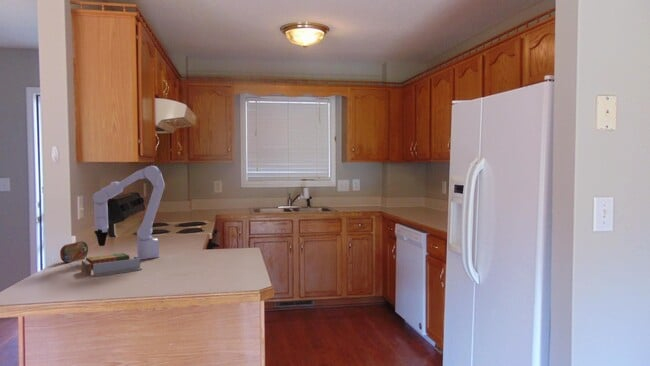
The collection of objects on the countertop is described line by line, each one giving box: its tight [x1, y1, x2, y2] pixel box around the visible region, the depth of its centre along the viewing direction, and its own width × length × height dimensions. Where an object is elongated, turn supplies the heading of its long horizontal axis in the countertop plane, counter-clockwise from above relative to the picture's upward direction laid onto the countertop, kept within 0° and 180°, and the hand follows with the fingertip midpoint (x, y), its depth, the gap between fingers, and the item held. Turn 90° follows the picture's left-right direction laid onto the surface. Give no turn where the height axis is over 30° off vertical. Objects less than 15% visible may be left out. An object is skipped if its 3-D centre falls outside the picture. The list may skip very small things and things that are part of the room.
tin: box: [59, 240, 89, 263], centre depth 210 cm, size 15×3×8 cm, turn 168°
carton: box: [85, 252, 131, 270], centre depth 202 cm, size 8×16×4 cm, turn 134°
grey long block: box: [92, 258, 143, 277], centre depth 188 cm, size 18×3×4 cm, turn 128°
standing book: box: [81, 259, 92, 277], centre depth 186 cm, size 2×9×5 cm, turn 38°
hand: (101, 245), depth 211 cm, fingers closed
